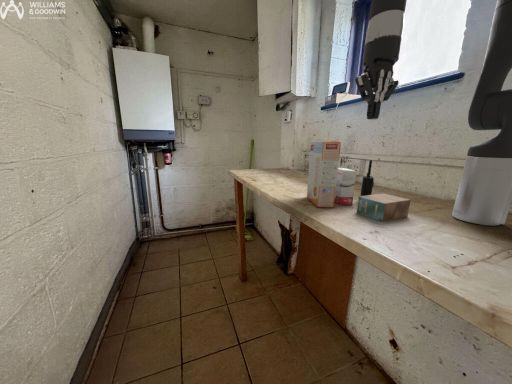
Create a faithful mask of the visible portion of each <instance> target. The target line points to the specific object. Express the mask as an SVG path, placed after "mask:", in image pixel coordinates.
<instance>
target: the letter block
mask: <svg viewBox="0 0 512 384" xmlns="http://www.w3.org/2000/svg"><path fill="white" fill-rule="evenodd" d="M357 199H358V200H357V201H358V202H357V208H356V213H357V214H360V215H363V216H366V217H368V218H372V219H374V220H377V221H379V222H385V221H390V220H396V219H400V218H407V217H408V215H409V210H410V206H411V200H412V199H411V198H410V199H409V198H405V197H401V196H396V195H393V194H388V193H375V194H374V193H373V194H371V195H366V196H360V195H359V196H358V198H357Z"/></svg>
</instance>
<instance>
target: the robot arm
mask: <svg viewBox="0 0 512 384" xmlns="http://www.w3.org/2000/svg"><path fill="white" fill-rule="evenodd" d="M406 6H407V0H371V3H370V9H369V20H368V25H367V29H366V35H365V43H364V51H363V57H362V58H363V59H362V66H363V67H364V69H363V73H362V74H361V75H359V76H357V77H355V79H354V81H355V84H356V86H357V89H358V92H359V95H360V98H361V100H362V101H365V102H366V104H367V108H366V119H367V120H373V121H374V120H378V119H379V116H380V113H381V106H382V103H384V102H386V101H388V100H389V99H390V97H391V96H392V94H393V93H394V92H395V90H396V89H397V87H398V85H399V83H400V81H399V80H397V79H394V78H393V76H394V65H395V64H396V63H397V62H398V61H399V59H400V55H401V49H402V43H403V42H402V41H403V34H404V29H405V14H406ZM511 70H512V0H497V1H496V5H495V8H494V12H493V17H492V22H491V26H490V32H489V37H488V42H487V46H486V51H485V56H484V59H483V65H482V68H481V71H480V75H479V77H478V81H477V84H476V86H475V89H474V93H473V96H472V99H471V102H470V105H469V109H468V114H467V115H468V116H467V123H468V126H469V128H471V129H472V130H473V131H492V130H493V131H494V130H495V131H497V130H500V132H499V133H498V134H497V135H496V136H495V137H493V138H491V139H489V140H486V141H483V142H479V143H475V144H471V145H470V146H469V147H468V149H467V150H468V151H467V154H466V158H465V161H464V166H463V170H462V174H461V177H460V181H459V186H458V189H457V195H456V198H455V203H454V206H453V210H452V215H451V216H452V217H453V218H455V219H458V220H459V221H464V222H466V223H471V224H476V225H477V224H478V225H483V226H496V227H497V226H500V225H505V223H506V220H507V217H508V214H509V212H510V208H511V205H512V88H511V89H503V85H504V84H505V81H506V79H507V76H508V75H509V73H510V71H511ZM502 89H503V90H502Z"/></svg>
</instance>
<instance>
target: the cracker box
mask: <svg viewBox="0 0 512 384" xmlns="http://www.w3.org/2000/svg"><path fill="white" fill-rule="evenodd" d="M341 144H342V142H341V141H336V140H335V141H334V140H333V141H329V140H328V141H321V140H320V141H311V142H310V152H309V163H308V179H307V189H306V198H307V199H308V200H309V201H310V202H312V204H314V206H315V207H317V208H332V209H333V208H334V206H335V201H334V200H335V191H336V182H337V173H338V168H339V162H340V157H341V155H340V153H341Z"/></svg>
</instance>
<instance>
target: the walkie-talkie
mask: <svg viewBox="0 0 512 384" xmlns="http://www.w3.org/2000/svg"><path fill="white" fill-rule="evenodd" d="M368 161H369V162H368V169H367V173H366V175H363V176H362V180H361V189H360V194H359V196H366V195H373V188H374V182H375V181H374V180H375V178H374V177H373V176H371V172H372V164H373V160H371V159H369V160H368Z"/></svg>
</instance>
